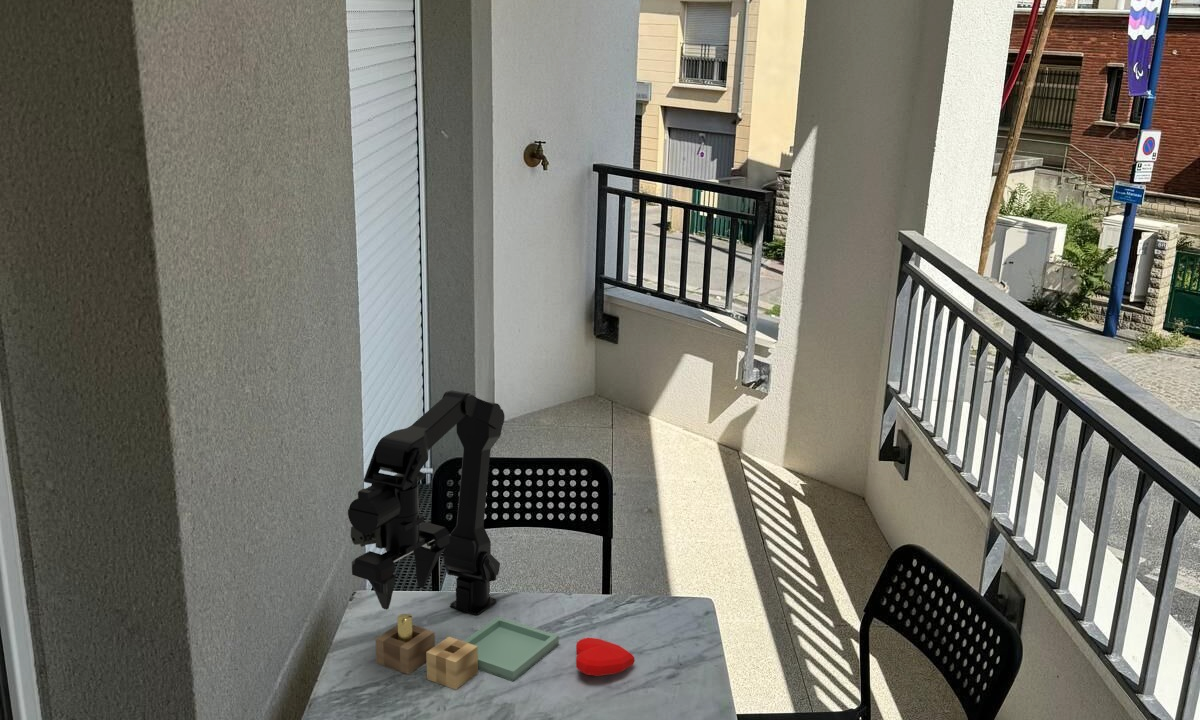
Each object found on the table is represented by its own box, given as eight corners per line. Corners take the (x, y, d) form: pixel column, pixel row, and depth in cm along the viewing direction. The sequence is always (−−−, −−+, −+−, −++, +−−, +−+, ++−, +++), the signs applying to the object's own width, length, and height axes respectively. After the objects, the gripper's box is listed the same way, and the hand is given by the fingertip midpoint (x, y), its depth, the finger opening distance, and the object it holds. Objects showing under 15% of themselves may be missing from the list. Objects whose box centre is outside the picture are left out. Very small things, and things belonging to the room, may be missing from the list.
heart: (631, 659, 192) (574, 653, 191) (634, 636, 191) (577, 630, 191) (634, 686, 180) (574, 679, 180) (638, 661, 180) (577, 655, 179)
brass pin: (416, 658, 188) (414, 616, 185) (407, 664, 186) (405, 621, 183) (405, 654, 189) (403, 612, 187) (396, 660, 187) (394, 618, 185)
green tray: (498, 625, 199) (498, 616, 199) (558, 644, 193) (558, 635, 192) (450, 659, 187) (450, 650, 187) (513, 681, 181) (513, 671, 181)
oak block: (449, 663, 186) (448, 636, 185) (477, 673, 183) (477, 646, 182) (426, 679, 181) (426, 652, 180) (456, 689, 178) (455, 662, 177)
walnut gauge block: (403, 645, 192) (402, 621, 191) (434, 656, 188) (434, 631, 187) (376, 662, 186) (375, 638, 185) (408, 674, 182) (407, 649, 181)
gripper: (400, 484, 192) (402, 566, 196) (324, 519, 176) (328, 607, 180) (451, 497, 186) (452, 581, 190) (377, 534, 171) (380, 625, 175)
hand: (403, 597), depth 184 cm, fingers open, 9 cm apart
